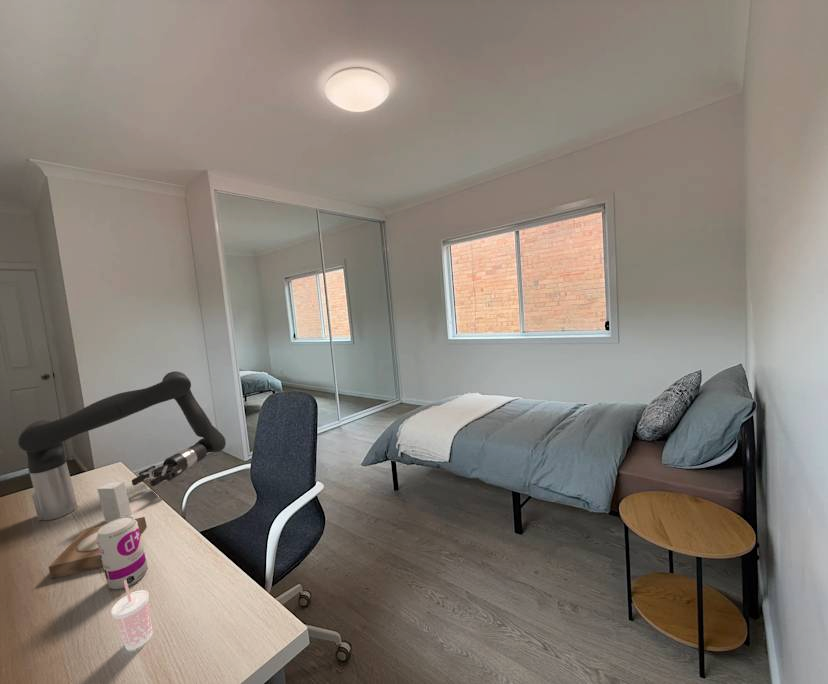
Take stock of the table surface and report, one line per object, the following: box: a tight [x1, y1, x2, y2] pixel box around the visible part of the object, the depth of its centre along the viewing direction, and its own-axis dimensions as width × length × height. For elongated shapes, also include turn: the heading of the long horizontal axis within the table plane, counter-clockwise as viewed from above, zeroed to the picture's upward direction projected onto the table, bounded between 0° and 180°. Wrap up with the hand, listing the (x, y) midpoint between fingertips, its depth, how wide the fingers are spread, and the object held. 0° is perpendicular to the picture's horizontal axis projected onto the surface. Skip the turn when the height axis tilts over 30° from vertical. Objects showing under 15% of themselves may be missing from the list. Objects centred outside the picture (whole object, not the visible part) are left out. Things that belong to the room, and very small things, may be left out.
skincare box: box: [97, 481, 133, 523], centre depth 123 cm, size 6×4×12 cm
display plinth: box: [48, 516, 148, 580], centre depth 107 cm, size 16×16×4 cm
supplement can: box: [97, 515, 149, 590], centre depth 94 cm, size 8×8×15 cm
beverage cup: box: [111, 579, 154, 651], centre depth 76 cm, size 6×6×14 cm
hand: (142, 483), depth 132 cm, fingers open, 8 cm apart
